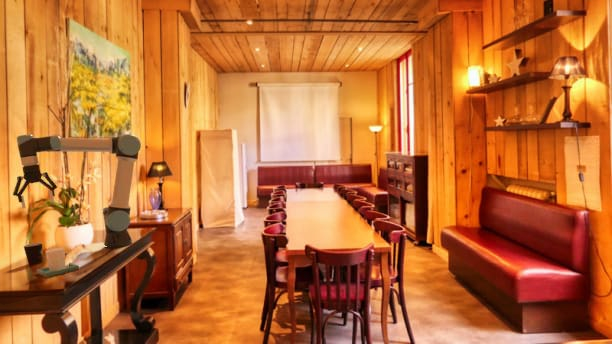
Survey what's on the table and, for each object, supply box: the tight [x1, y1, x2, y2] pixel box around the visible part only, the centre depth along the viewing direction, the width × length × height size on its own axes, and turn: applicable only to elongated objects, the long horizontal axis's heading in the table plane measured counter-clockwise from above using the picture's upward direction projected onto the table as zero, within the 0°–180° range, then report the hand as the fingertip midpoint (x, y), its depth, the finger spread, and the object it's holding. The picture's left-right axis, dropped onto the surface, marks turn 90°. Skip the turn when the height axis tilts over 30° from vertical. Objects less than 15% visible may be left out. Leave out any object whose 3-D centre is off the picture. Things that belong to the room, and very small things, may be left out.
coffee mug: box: [23, 242, 44, 266], centre depth 246 cm, size 12×9×10 cm
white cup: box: [44, 247, 66, 272], centre depth 220 cm, size 8×8×10 cm
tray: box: [36, 262, 80, 279], centre depth 220 cm, size 14×14×2 cm
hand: (38, 205), depth 239 cm, fingers open, 13 cm apart
